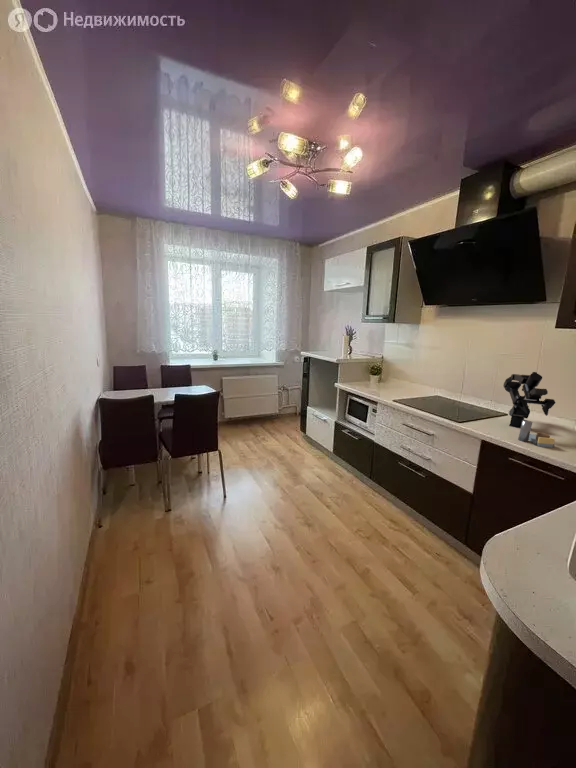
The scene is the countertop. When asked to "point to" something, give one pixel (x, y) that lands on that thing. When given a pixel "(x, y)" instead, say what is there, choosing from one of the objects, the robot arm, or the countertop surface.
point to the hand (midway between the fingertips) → (537, 414)
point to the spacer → (525, 431)
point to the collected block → (542, 435)
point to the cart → (542, 441)
